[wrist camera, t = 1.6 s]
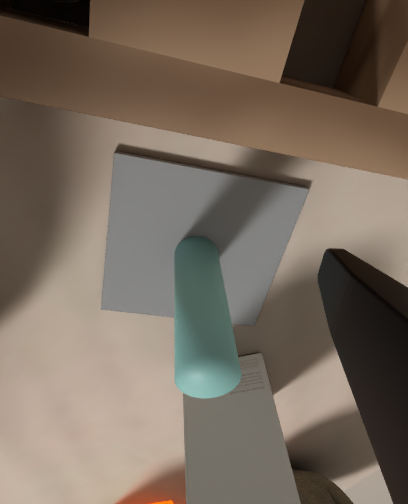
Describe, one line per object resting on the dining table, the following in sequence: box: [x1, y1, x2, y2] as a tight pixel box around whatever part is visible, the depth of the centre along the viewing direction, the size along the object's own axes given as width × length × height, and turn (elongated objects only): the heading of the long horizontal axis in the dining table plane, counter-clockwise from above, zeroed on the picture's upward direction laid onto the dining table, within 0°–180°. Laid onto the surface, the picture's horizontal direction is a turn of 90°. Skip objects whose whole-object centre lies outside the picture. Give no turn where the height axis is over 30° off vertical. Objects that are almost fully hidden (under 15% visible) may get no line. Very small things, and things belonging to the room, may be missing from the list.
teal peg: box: [174, 236, 241, 398], centre depth 20 cm, size 3×3×10 cm
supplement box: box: [183, 353, 301, 504], centre depth 28 cm, size 7×7×13 cm
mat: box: [101, 151, 309, 326], centre depth 24 cm, size 12×12×1 cm
